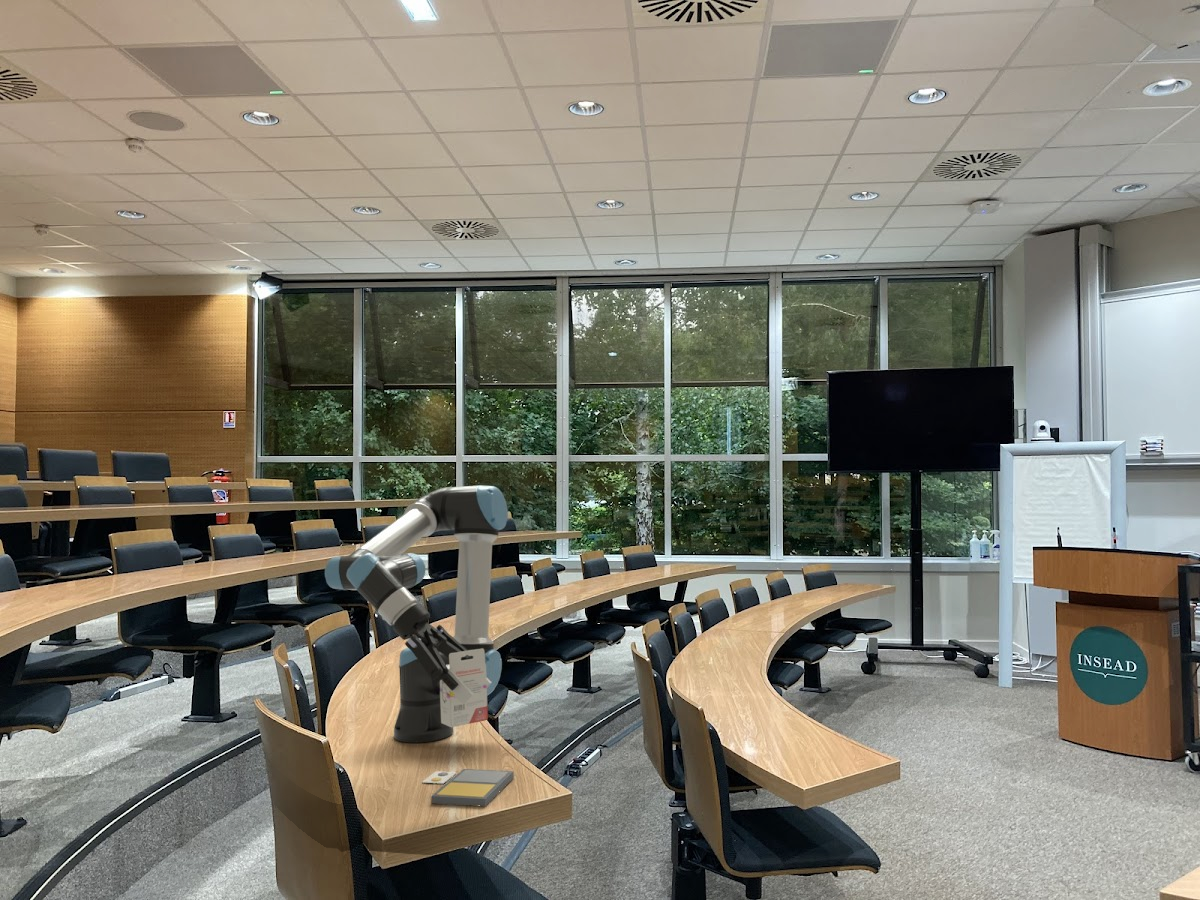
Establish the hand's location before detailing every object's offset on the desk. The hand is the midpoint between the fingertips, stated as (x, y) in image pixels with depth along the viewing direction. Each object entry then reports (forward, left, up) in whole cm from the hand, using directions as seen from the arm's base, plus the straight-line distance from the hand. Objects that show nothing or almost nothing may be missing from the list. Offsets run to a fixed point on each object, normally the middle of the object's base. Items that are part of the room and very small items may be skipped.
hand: (478, 693), depth 170 cm
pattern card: (-10, -14, -21) cm, 27 cm away
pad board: (-4, -3, -21) cm, 22 cm away
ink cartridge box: (0, -3, -6) cm, 7 cm away
